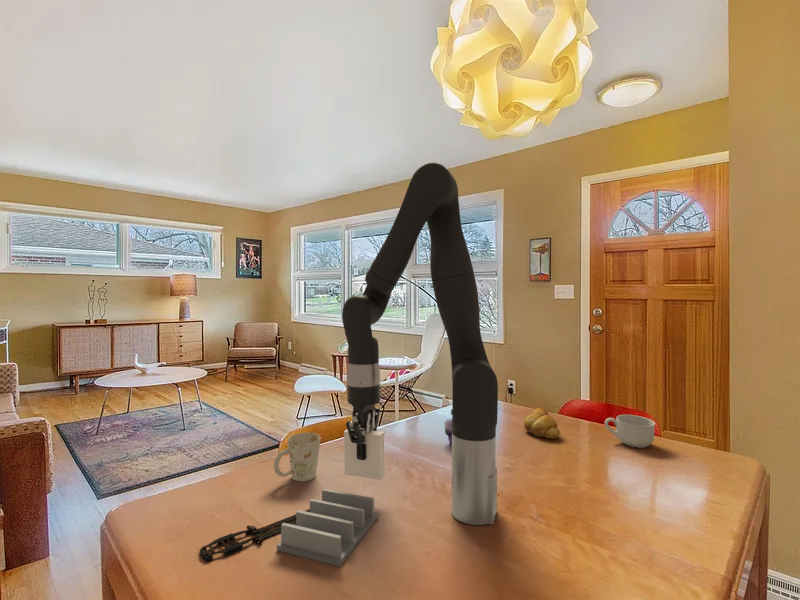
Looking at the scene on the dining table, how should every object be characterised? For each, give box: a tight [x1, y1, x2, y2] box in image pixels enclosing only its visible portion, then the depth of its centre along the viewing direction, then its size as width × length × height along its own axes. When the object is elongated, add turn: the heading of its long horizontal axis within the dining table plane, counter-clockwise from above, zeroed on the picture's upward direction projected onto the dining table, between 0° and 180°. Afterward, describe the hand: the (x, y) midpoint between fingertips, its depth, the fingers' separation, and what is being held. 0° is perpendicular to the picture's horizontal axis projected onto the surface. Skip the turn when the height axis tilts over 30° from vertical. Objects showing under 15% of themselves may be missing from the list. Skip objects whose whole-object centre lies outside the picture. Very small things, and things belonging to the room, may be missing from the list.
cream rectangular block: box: [343, 429, 386, 481], centre depth 95 cm, size 2×9×10 cm, turn 70°
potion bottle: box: [444, 409, 452, 446], centre depth 130 cm, size 9×9×12 cm
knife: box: [199, 508, 310, 563], centre depth 81 cm, size 25×6×1 cm, turn 126°
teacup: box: [604, 414, 656, 449], centre depth 131 cm, size 14×11×8 cm
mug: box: [273, 432, 321, 483], centre depth 105 cm, size 8×13×10 cm, turn 137°
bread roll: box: [523, 407, 561, 440], centre depth 139 cm, size 13×10×8 cm
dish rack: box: [276, 488, 378, 568], centre depth 81 cm, size 16×13×4 cm
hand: (364, 456), depth 95 cm, fingers closed on cream rectangular block, 2 cm apart
